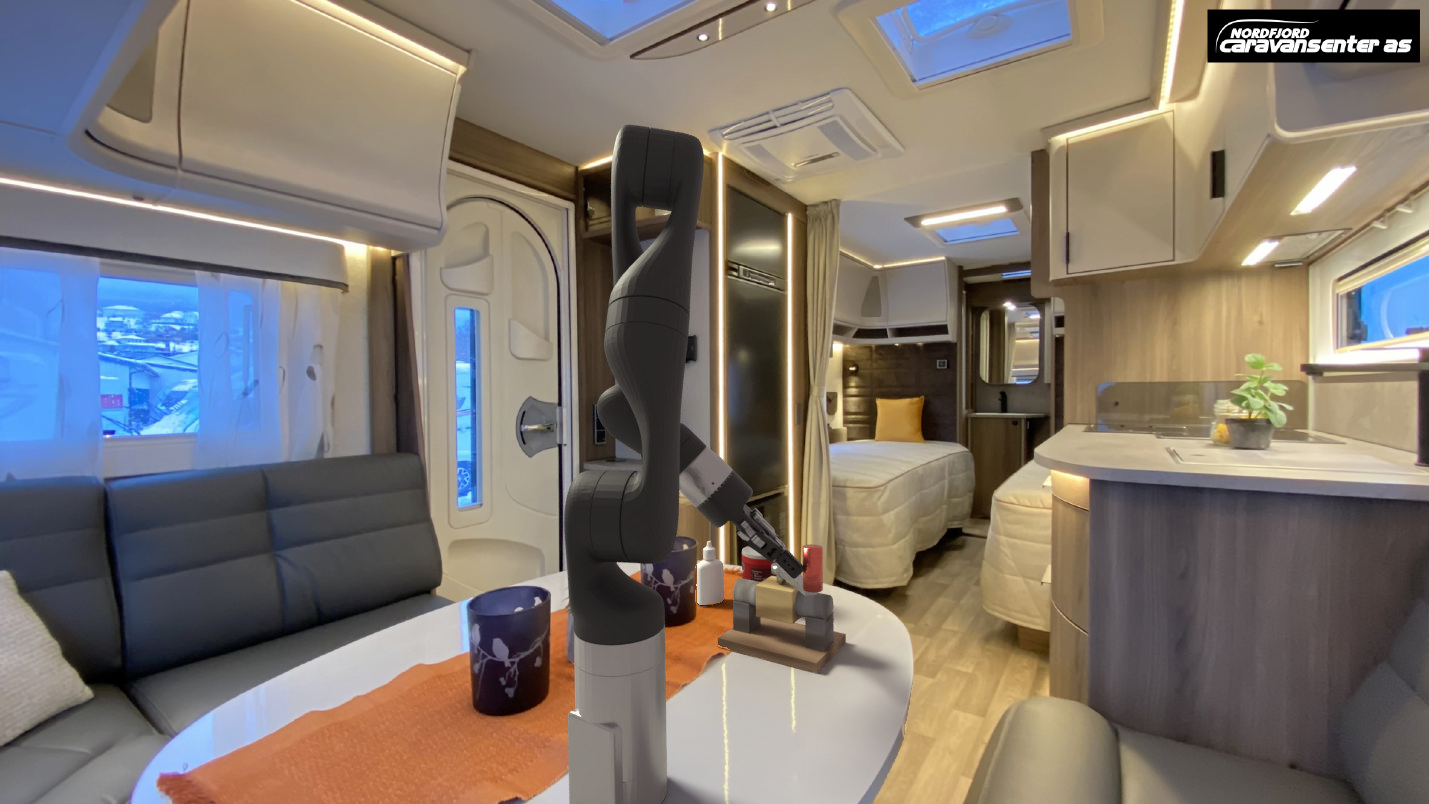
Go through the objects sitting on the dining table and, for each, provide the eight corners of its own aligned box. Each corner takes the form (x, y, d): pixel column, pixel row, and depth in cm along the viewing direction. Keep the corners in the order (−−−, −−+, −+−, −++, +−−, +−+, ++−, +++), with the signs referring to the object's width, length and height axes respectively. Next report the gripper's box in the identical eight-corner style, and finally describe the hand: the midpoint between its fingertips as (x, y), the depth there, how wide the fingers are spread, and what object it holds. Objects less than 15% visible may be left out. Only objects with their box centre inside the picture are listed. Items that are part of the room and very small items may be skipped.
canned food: (762, 597, 117) (761, 542, 117) (792, 608, 111) (791, 550, 111) (733, 606, 112) (732, 549, 112) (763, 618, 106) (762, 558, 106)
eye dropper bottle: (695, 599, 117) (694, 538, 116) (723, 598, 117) (722, 538, 117) (695, 607, 112) (695, 544, 112) (725, 606, 113) (724, 543, 112)
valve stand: (816, 673, 86) (815, 605, 85) (717, 647, 95) (717, 585, 95) (845, 643, 96) (845, 581, 95) (754, 621, 105) (753, 566, 105)
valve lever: (768, 579, 96) (768, 526, 96) (786, 577, 97) (786, 525, 97) (806, 612, 82) (806, 550, 81) (827, 610, 82) (827, 548, 82)
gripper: (730, 474, 77) (824, 568, 77) (731, 461, 90) (811, 542, 90) (690, 515, 77) (784, 608, 77) (696, 496, 90) (777, 576, 90)
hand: (798, 572), depth 83 cm, fingers closed
